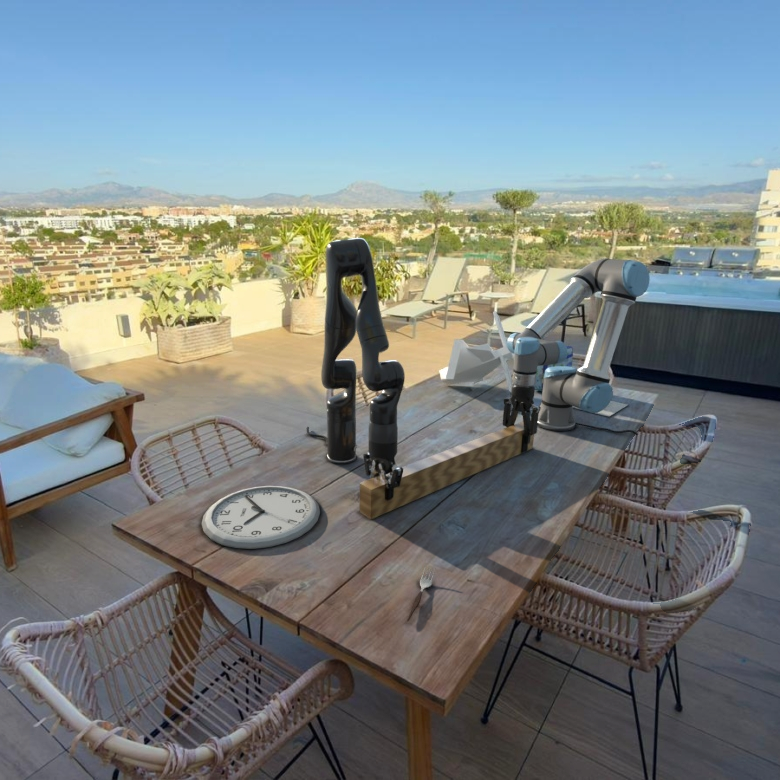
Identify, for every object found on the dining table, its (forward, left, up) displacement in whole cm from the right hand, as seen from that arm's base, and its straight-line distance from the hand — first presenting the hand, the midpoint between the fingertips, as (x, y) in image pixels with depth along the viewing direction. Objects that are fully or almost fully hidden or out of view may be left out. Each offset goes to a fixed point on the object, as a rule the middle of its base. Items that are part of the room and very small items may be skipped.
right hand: (517, 449), depth 180 cm
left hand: (+41, +45, +4) cm, 61 cm away
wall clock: (+72, +54, -1) cm, 89 cm away
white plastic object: (+10, -65, -1) cm, 66 cm away
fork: (+29, +80, -1) cm, 85 cm away
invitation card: (-42, -53, -1) cm, 68 cm away
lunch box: (-23, -77, -1) cm, 81 cm away
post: (+21, +23, -1) cm, 31 cm away
